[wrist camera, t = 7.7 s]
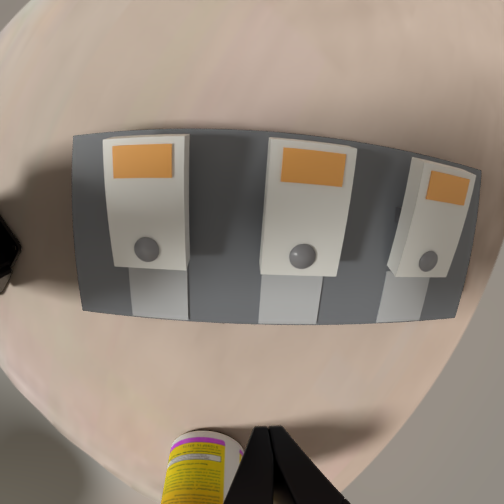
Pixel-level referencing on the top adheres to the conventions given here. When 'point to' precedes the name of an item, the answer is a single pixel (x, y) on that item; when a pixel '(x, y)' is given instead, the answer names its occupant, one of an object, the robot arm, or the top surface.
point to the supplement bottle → (201, 468)
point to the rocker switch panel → (249, 242)
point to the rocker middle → (305, 206)
